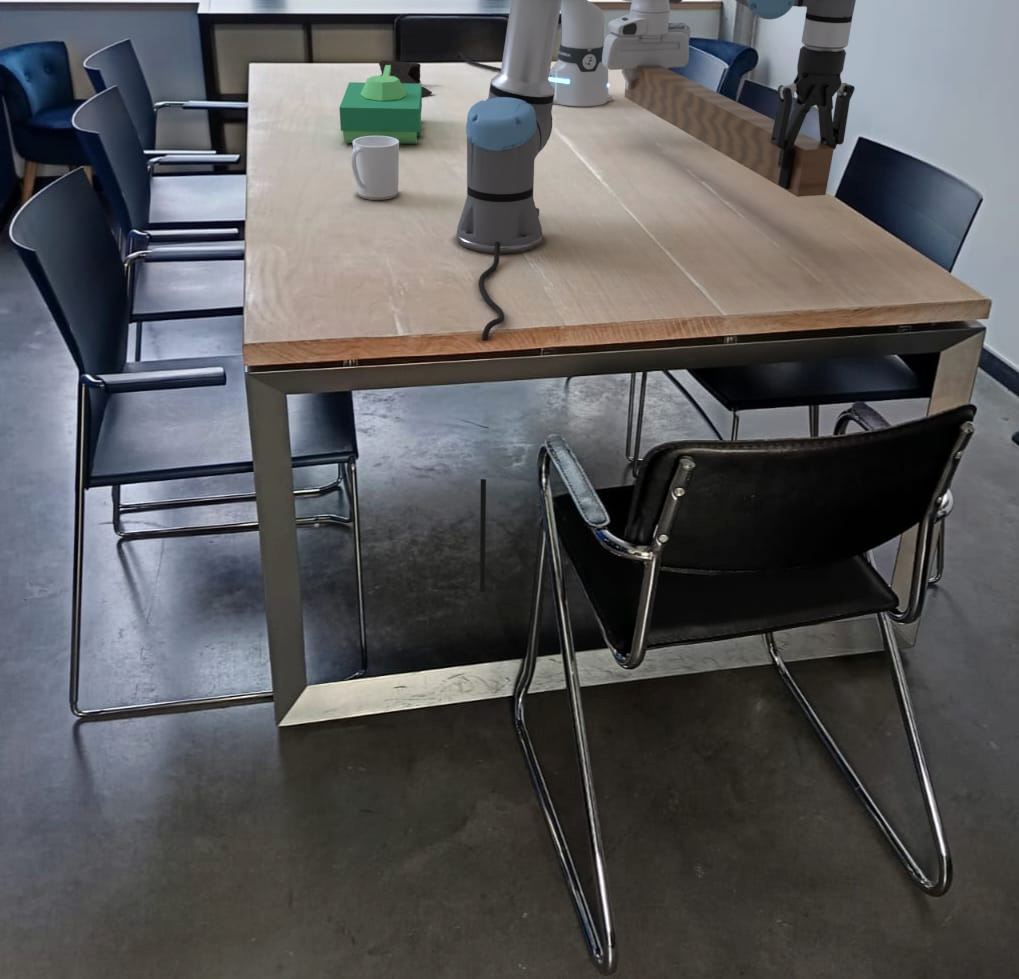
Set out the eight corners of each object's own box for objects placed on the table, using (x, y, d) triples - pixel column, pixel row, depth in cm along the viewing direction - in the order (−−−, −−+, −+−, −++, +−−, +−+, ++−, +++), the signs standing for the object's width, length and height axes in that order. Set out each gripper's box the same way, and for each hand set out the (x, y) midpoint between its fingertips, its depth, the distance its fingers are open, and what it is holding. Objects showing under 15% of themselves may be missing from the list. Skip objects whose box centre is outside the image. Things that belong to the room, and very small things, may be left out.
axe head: (443, 87, 294) (392, 77, 287) (436, 115, 299) (385, 106, 292) (421, 62, 307) (371, 52, 300) (414, 89, 311) (365, 80, 304)
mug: (378, 184, 223) (375, 133, 218) (409, 193, 218) (408, 141, 213) (338, 196, 216) (335, 143, 210) (370, 205, 211) (367, 151, 206)
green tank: (422, 61, 273) (418, 91, 243) (422, 112, 279) (419, 147, 249) (350, 60, 272) (338, 90, 242) (353, 111, 278) (341, 146, 248)
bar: (825, 195, 192) (834, 148, 187) (797, 196, 190) (805, 150, 186) (646, 96, 257) (649, 60, 253) (624, 97, 256) (627, 60, 251)
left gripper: (860, 41, 187) (834, 177, 199) (762, 44, 182) (742, 182, 195) (884, 50, 181) (856, 189, 193) (784, 52, 176) (762, 195, 189)
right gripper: (685, 20, 249) (678, 83, 257) (601, 22, 244) (597, 87, 251) (697, 25, 244) (690, 89, 252) (612, 27, 239) (607, 93, 246)
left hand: (799, 185), depth 194 cm, fingers closed on bar, 6 cm apart
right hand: (643, 88), depth 251 cm, fingers closed on bar, 5 cm apart
